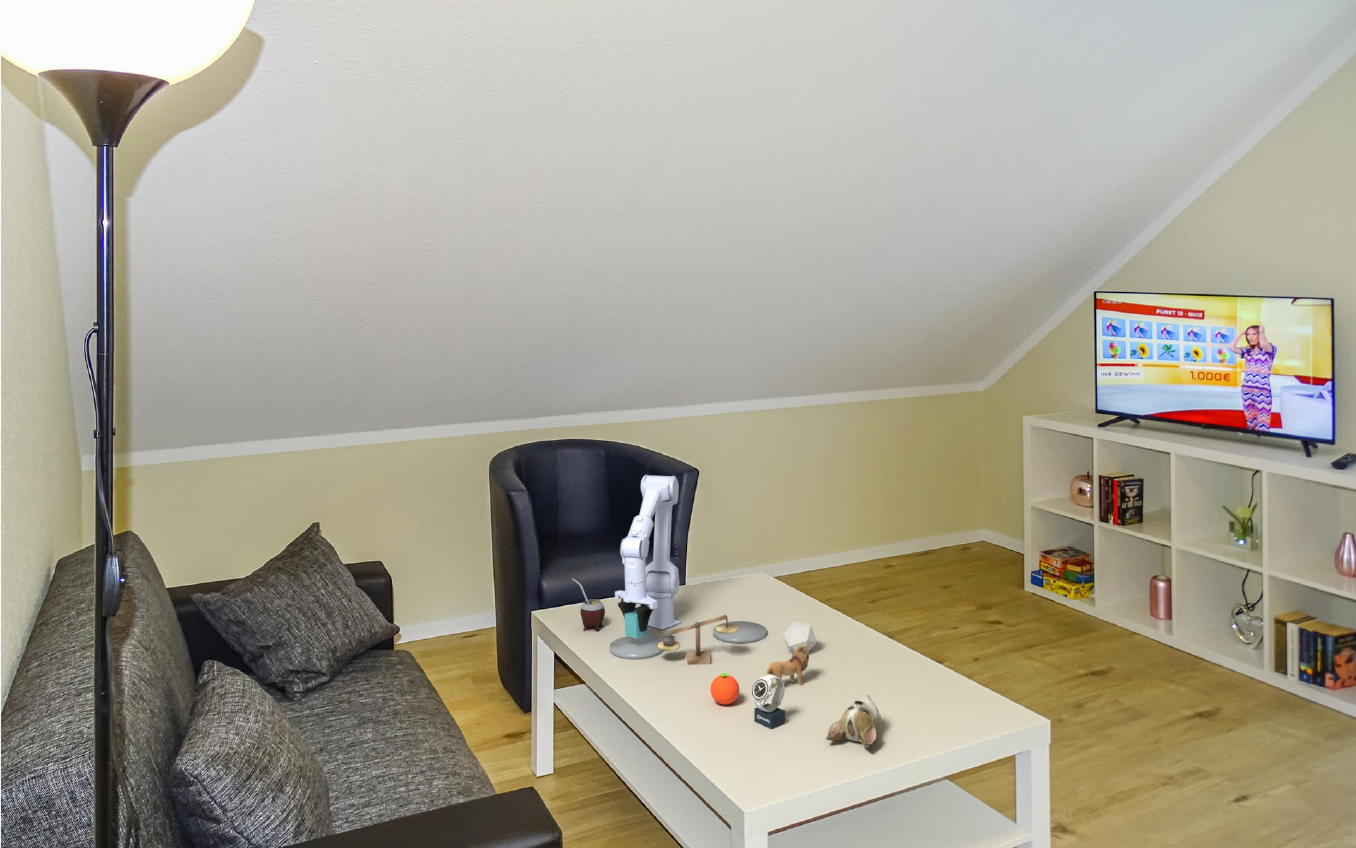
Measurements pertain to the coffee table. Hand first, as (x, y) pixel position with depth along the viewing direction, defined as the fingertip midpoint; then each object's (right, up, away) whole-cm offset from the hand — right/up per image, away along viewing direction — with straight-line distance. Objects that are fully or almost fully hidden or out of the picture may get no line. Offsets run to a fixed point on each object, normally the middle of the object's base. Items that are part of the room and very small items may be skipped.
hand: (636, 628), depth 278 cm
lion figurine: (+38, -9, -25) cm, 47 cm away
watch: (+32, -12, -46) cm, 58 cm away
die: (+44, -6, -3) cm, 45 cm away
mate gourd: (-14, -4, +18) cm, 23 cm away
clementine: (+22, -11, -35) cm, 43 cm away
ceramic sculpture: (+51, -13, -55) cm, 76 cm away
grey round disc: (+29, -4, +11) cm, 31 cm away
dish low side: (0, -6, +1) cm, 6 cm away
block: (0, -2, 0) cm, 2 cm away
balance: (+17, -7, -8) cm, 20 cm away
